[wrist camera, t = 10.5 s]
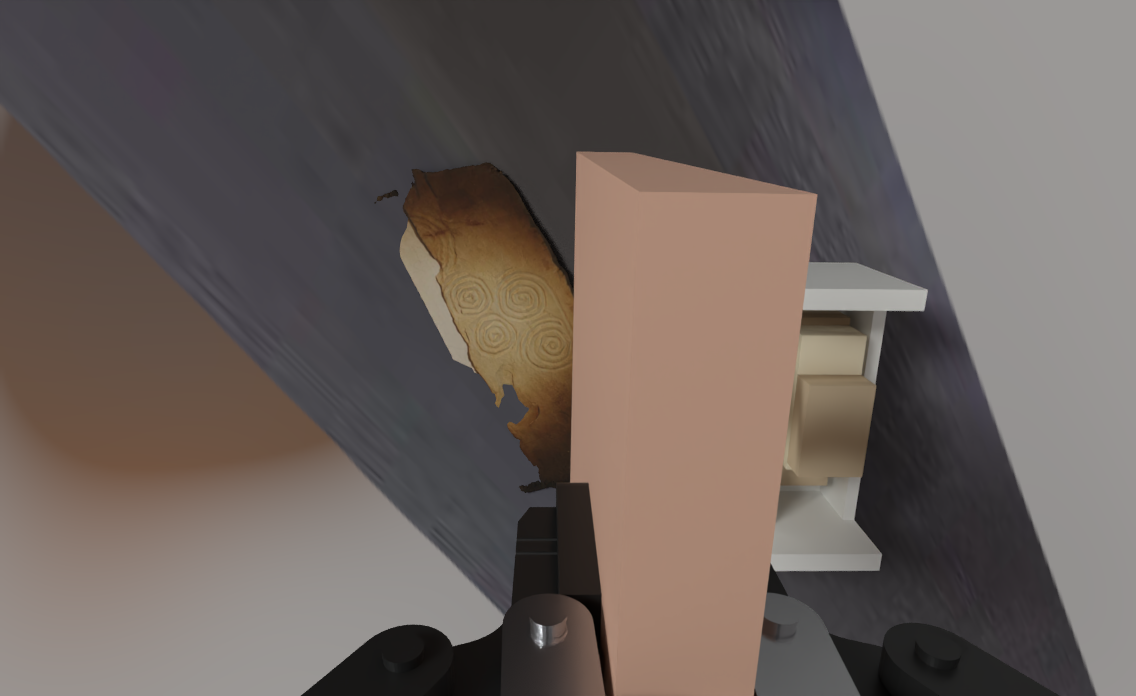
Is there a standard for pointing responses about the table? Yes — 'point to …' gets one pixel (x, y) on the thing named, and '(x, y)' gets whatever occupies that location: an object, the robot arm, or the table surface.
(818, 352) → the offcut mid
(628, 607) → the board
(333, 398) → the table surface
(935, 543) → the table surface
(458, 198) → the parchment
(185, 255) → the table surface
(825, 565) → the rack
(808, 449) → the offcut small
